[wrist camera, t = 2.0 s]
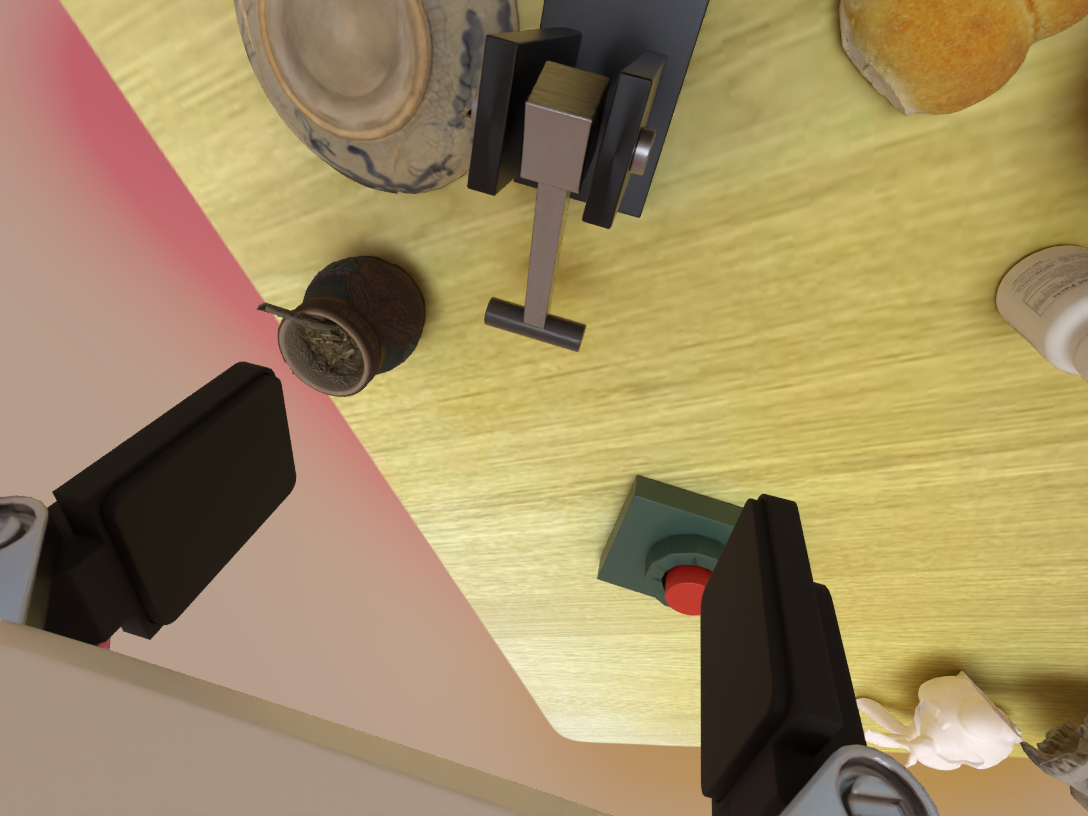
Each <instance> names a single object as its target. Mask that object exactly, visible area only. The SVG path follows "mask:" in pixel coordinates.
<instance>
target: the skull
mask: <svg viewBox="0 0 1088 816" xmlns="http://www.w3.org/2000/svg"><path fill="white" fill-rule="evenodd" d="M1057 727H1058V728H1055V729H1051V730H1050V731H1049V732H1047V733H1046V734H1045V736H1046V740H1044V741H1043V742H1042V743H1037V746H1038V750H1037V749H1036V748H1034V747H1033V746H1031V745H1030V744H1028V743H1027V742H1020V744H1021V746H1022V748H1023V750H1024V752H1025V753H1026V754H1027V756H1028V757H1029V758H1030V759H1031V760H1032V761H1033V762H1034V763H1035V764H1036V765H1037V766H1038V767H1039V768H1040V769H1041V770H1043V771H1044V772H1045V773H1046V774H1049V775H1050V776H1051V777H1054V778H1055V779H1057V780H1059V781H1061V782H1063V783H1066V784H1068V785H1070V790H1071V795H1072V796H1073V797H1074V799H1075V800H1077V802H1079V803H1080V804H1081V805H1082V806H1083V807H1084V808H1085V809H1086V810H1087V811H1088V714H1087V716H1086V718H1085V719H1084V721H1083V723H1082V724H1080V725H1079V726H1078V728H1076V727H1075V726H1074V725H1072V724H1071V723H1070V722H1066V723H1064V724H1061V725H1059V726H1057Z"/></svg>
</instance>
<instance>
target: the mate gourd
mask: <svg viewBox="0 0 1088 816" xmlns="http://www.w3.org/2000/svg"><path fill="white" fill-rule="evenodd" d="M257 310H262V311H264V312H268V313H272V314H276V315H277V316H278V317H283V320H282V321H281V323H280V326H279V328H278V329H279V330H278V344H279V348H280V351H281V354H282V356H283V359H284V361H285V362H286V363H287V364H288V365H289V367H290V369H291V370H292V372H293V374H295V375H296V376H297V377H298V378H299V379H300V380H301V381H303V382H304V383H306V384H307V385H309V386H310V387H312V388H313V389H315V390H317V391H319V392H322V393H324V394H327V395H331V396H338V397H346V396H351V395H354V394H357V393H358V392H360V391H362V389H364V388H365V387H366V386H367V384H368V383H369V382H370V381H371V380H372V379H373V378H374V376H375V375H377V374H380V373H385V372H387V371H390V370H392V369H393V368H395V367H397V366H398V365H400V364H401V363H403V362H404V361H405V360H406V359H407V358H408V357H409V356H410V355H411V354H412V352H413V351H414V350H415V348H416V346H417V344H418V342H419V339H420V337H421V334H422V332H423V327H424V324H425V319H426V318H425V315H426V313H425V311H426V310H425V301H424V298H423V295H422V293H421V290H420V289H419V287H418V285H417V284H416V282H415V281H414V279H413V278H412V277H411V276H410V275H409V274H408V273H407V272H406V271H405V270H404V269H403V268H402V267H400V266H398V265H396V264H393V263H390V262H388V261H385V260H383V259H381V258H379V257H374V256H359V257H352V258H351V257H349V258H346V259H342V260H339V261H337V262H333V263H331V264H329V265H327V267H325V268H324V269H323V270H322V271H320V272H318V274H317V275H316V276H315V277H314V279H313V280H312V282H311V283H310V285H309V286H308V288H307V290H306V293H305V296H304V300H303V303H302V304H301V305H299V306H298V307H297V308H296V309H294V310H292V311H290V310H287V309H284V308H281V307H277V306H275V305H271V304H268V303H263V304H261V305H259V307H258V308H257Z"/></svg>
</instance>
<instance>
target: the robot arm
mask: <svg viewBox="0 0 1088 816" xmlns="http://www.w3.org/2000/svg"><path fill="white" fill-rule="evenodd" d="M295 483H296V471H295V466H294V459H293V452H292V446H291V440H290V434H289V427H288V421H287V416H286V409H285V403H284V397H283V390H282V384H281V381H280V380H279V378H277V377H276V376H275V373H274V372H273V371H272V369H269V368H267V367H263V366H259V365H255V364H251V363H248V362H238V363H236V364H234V365H233V366H232V367H230V368H229V369H227V370H226V371H225V372H223V373H222V374H220V375H219V376H217V377H216V378H214V379H213V380H212V381H210V382H209V383H207V384H206V385H204V386H203V387H202V388H200V389H199V390H197V391H196V392H195V393H193V394H192V395H190V396H189V397H187V398H186V399H184V400H183V401H182V402H180V403H179V404H177V405H176V406H175V407H173V408H172V409H170V410H169V411H167V412H166V413H164V414H163V415H162V416H160V417H159V418H157V419H156V420H155V421H153V422H152V423H150V424H149V425H147V426H146V427H145V428H143V429H142V430H140V431H139V432H137V433H136V434H135V435H133V436H132V437H130V438H129V439H127V440H126V441H124V442H123V443H122V444H120V445H119V446H118V447H116V448H115V449H113V450H112V451H110V452H109V453H107V454H106V455H105V456H103V457H102V458H100V459H99V460H97V461H96V462H94V463H93V464H92V465H90V466H89V467H87V468H86V469H85V470H83V471H82V472H80V473H79V474H77V475H76V476H74V477H73V478H72V479H70V480H69V481H67V482H66V483H64V484H63V485H62V486H60V487H59V488H57V489H56V490H54V491H53V494H54V496H55V498H56V500H57V501H56V502H55V503H53V504H52V505H51V506H49V507H48V508H47V507H46V506H45V505H44V504H43V503H42V502H41V501H39V500H37V499H34V498H32V497H25V496H8V497H0V816H611V815H609V814H606V813H603V812H600V811H597V810H595V809H592V808H589V807H586V806H583V805H580V804H578V803H575V802H572V801H569V800H566V799H563V798H561V797H557V796H554V795H551V794H549V793H546V792H542V791H539V790H537V789H534V788H531V787H528V786H525V785H521V784H518V783H515V782H512V781H509V780H506V779H503V778H500V777H497V776H494V775H491V774H488V773H485V772H482V771H479V770H476V769H473V768H470V767H467V766H464V765H461V764H458V763H455V762H452V761H449V760H446V759H443V758H440V757H437V756H434V755H431V754H428V753H425V752H422V751H419V750H416V749H413V748H410V747H407V746H404V745H401V744H398V743H395V742H392V741H388V740H386V739H382V738H379V737H377V736H373V735H370V734H367V733H364V732H361V731H358V730H355V729H352V728H349V727H346V726H343V725H340V724H337V723H333V722H330V721H328V720H324V719H321V718H318V717H315V716H312V715H309V714H306V713H303V712H300V711H297V710H294V709H291V708H287V707H285V706H282V705H279V704H275V703H272V702H269V701H266V700H263V699H260V698H257V697H254V696H250V695H248V694H244V693H242V692H239V691H235V690H232V689H229V688H226V687H223V686H220V685H217V684H213V683H210V682H207V681H204V680H201V679H198V678H194V677H191V676H188V675H185V674H182V673H179V672H176V671H173V670H170V669H167V668H164V667H160V666H157V665H154V664H151V663H148V662H145V661H142V660H139V659H136V658H132V657H129V656H126V655H123V654H120V653H117V652H114V651H111V650H109V648H110V638H111V636H112V635H113V634H114V633H115V632H116V631H117V630H118V629H119V628H120V627H122V629H123V631H124V632H127V633H130V634H133V635H137V636H140V637H143V638H146V639H149V640H150V639H151V638H152V637H153V636H154V635H155V634H156V633H157V632H158V631H159V630H160V628H162V626H163V625H168V624H171V623H172V622H174V621H175V620H176V619H177V618H178V617H179V616H180V615H181V614H182V613H183V612H184V611H185V610H186V608H187V607H188V606H189V605H190V604H191V603H192V602H193V601H194V600H195V598H196V597H197V596H198V595H199V594H200V593H201V592H202V591H203V590H204V588H205V587H206V586H207V585H208V584H209V583H210V582H211V581H212V580H213V578H214V577H215V576H216V575H217V574H218V573H219V572H220V571H221V570H222V568H223V567H224V566H225V565H226V564H227V563H228V562H229V561H230V560H231V558H232V557H233V556H234V555H235V554H236V553H237V552H238V551H239V550H240V548H241V547H242V546H243V545H244V544H245V543H246V542H247V541H248V540H249V539H250V537H251V536H252V535H253V534H254V533H255V532H256V531H257V529H259V527H260V526H261V525H262V524H263V523H264V522H265V521H266V520H267V518H268V517H269V516H270V515H271V514H272V513H273V512H274V511H275V510H276V509H277V507H278V506H279V505H280V504H281V503H282V502H283V501H284V500H285V499H286V497H287V496H288V495H289V494H290V493H291V491H292V490H293V488H294V486H295ZM701 788H702V793H703V795H704V796H706V797H709V798H712V816H940V815H939V812H938V810H937V807H936V806H935V804H934V802H933V801H932V799H931V798H930V796H929V794H928V793H927V791H926V790H925V788H924V787H923V786H922V785H921V783H920V782H919V781H918V780H917V779H916V778H915V777H914V776H913V775H912V774H911V772H910V771H909V770H908V769H906V768H905V767H904V766H903V765H901V764H900V763H899V762H897V761H896V760H895V759H894V758H892V757H891V756H889V755H887V754H885V753H883V752H881V751H879V750H877V749H875V748H872V747H868V746H867V744H866V740H865V736H864V731H863V727H862V723H861V719H860V715H859V710H858V706H857V702H856V698H855V694H854V689H853V685H852V681H851V677H850V672H849V668H848V664H847V660H846V656H845V651H844V647H843V643H842V639H841V635H840V630H839V626H838V622H837V618H836V614H835V609H834V605H833V601H832V597H831V595H830V592H829V590H828V588H827V587H826V586H825V585H822V584H819V583H815V582H813V578H812V573H811V568H810V563H809V559H808V554H807V549H806V544H805V540H804V535H803V530H802V525H801V521H800V516H799V511H798V507H797V504H796V503H795V502H794V501H790V500H786V499H783V498H779V497H775V496H771V495H767V494H762V495H760V496H759V498H758V500H754V499H748V500H747V502H746V503H745V505H744V508H743V510H742V512H741V514H740V516H739V518H738V520H737V522H736V524H735V526H734V528H733V530H732V533H731V535H730V537H729V539H728V541H727V543H726V545H725V547H724V549H723V551H722V553H721V555H720V557H719V560H718V562H717V564H716V566H715V568H714V570H713V572H712V574H711V576H710V578H709V580H708V582H707V584H706V587H705V589H704V591H703V595H702V600H701Z"/></svg>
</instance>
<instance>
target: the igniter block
mask: <svg viewBox="0 0 1088 816" xmlns="http://www.w3.org/2000/svg"><path fill="white" fill-rule="evenodd" d="M742 510H743V508H741V507H737V506H734V505H731V504H728V503H725V502H721V501H718V500H715V499H712V498H709V497H705V496H702V495H699V494H696V493H693V492H689V491H686V490H683V489H680V488H676V487H673V486H670V485H667V484H664V483H660V482H657V481H654V480H651V479H648V478H644V477H641V476H637V477H636V479H635V481H634V483H633V486H632V488H631V490H630V492H629V495H628V497H627V499H626V502H625V504H624V506H623V508H622V511H621V513H620V515H619V517H618V520H617V522H616V524H615V527H614V529H613V531H612V533H611V536H610V538H609V540H608V542H607V545H606V547H605V549H604V552H603V554H602V556H601V558H600V564H599V570H598V576H597V579H599V580H602V581H605V582H608V583H611V584H614V585H618V586H621V587H624V588H627V589H630V590H633V591H636V592H639V593H642V594H645V595H649V596H652V597H655V598H656V599H657V600H659V601H660V602H661V603H662V604H663V605H665V606H668V607H670V606H669V605H668V603H667V602H666V599H665V587H666V575H667V573H668V572H669V570H670V569H672V568H673V567H675V566H677V565H697V566H700V567H704V568H707V569H709V570H710V571H711V572H713V570H714V568H715V566H716V564H717V562H718V560H719V557H720V555H721V553H722V551H723V549H724V547H725V545H726V543H727V541H728V539H729V537H730V535H731V533H732V530H733V528H734V526H735V524H736V522H737V520H738V518H739V516H740V514H741V512H742Z"/></svg>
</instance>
